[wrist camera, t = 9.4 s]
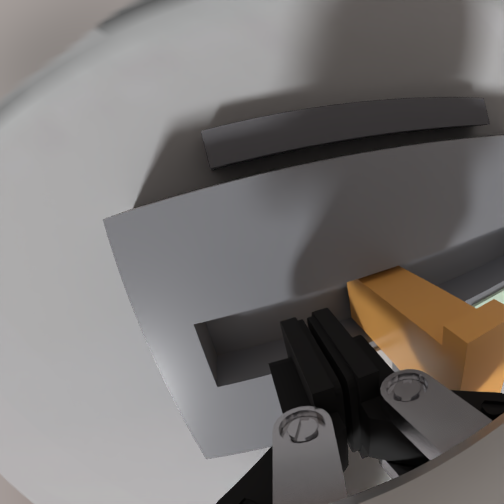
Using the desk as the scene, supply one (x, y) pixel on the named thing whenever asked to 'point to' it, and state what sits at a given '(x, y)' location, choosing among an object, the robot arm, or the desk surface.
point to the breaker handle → (431, 329)
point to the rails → (337, 126)
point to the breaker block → (298, 265)
